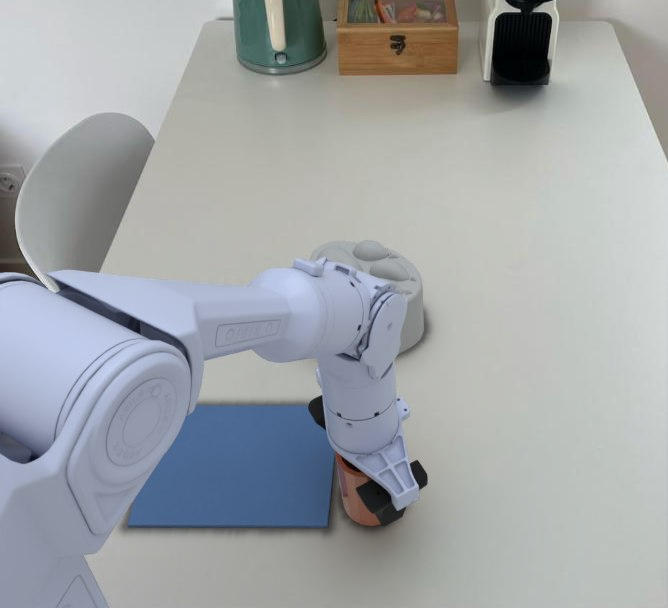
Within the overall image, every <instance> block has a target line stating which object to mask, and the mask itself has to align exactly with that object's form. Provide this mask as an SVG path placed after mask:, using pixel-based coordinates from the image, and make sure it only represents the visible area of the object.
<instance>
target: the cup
mask: <svg viewBox="0 0 668 608" xmlns="http://www.w3.org/2000/svg"><path fill="white" fill-rule="evenodd" d="M335 462H336V469H337V473H338V474H337V475H338V481H339V486H340V493H341V499H342V503H343V504H342V505H343V507H344V511H345V513H346V514H347V515H348V517H349V518H350V519H351V520H352V521H354V522H355V523H358V524H360V525H363V526H368V527H369V526H370V527H373V526H374V527H375V526H380V525H381V524H380V522H379V520H378V519H377V517H376V515H375V514H373V513H371V512H370V511H369V510H368V509H367V508H366V506H365V505H364V503H363V502H362V500H361V498H360V497H359V495H358V493H357V491H356V488H357V487H359V486H360V485H362V484H364V483H366V482H368V481H370V480H372V478H370V477H369V476H368V475H366V474H365V473H364V472H362V471H361V470H360V469H358V468H357V467H356V466H354V465H353V464H352V463H350V462H349V461H348V460H346V459H345V458H344V457H342V456H341V455H340V454H338V453H337V452H336V451H335Z"/></svg>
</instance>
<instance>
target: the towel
mask: <svg viewBox="0 0 668 608" xmlns="http://www.w3.org/2000/svg"><path fill="white" fill-rule="evenodd" d="M308 405H309V404H308ZM308 405H307V404H305V405H304V404H300V405H299V404H295V405H293V404H292V405H290V404H289V405H287V404H285V405H282V404H281V405H279V404H278V405H275V404H273V405H271V404H270V405H268V404H267V405H196V406H195V409H194V411H193V412H192V413H191V414H190V415H188V416H186V417H185V420H184V422H183V425H182V427H181V429H180V431H179V433H178V435H177V437H176V438H175V440H174V442H173V443H172V445H171V446H170V448H169V449H168V450H167V452H166V453H165V454H164V455H163V457H162V458H161V460H160V461H159V463H158V464H157V466H156V467H155V469H154V470H153V472H152V473H151V475H150V476H149V478H148V479H147V481H146V482H145V484H144V485H143V487H142V489H141V490H140V492H139V493H138V495H137V496H136V498H135V499H134V501H133V504H132V507H131V510H130V513H129V517H128V521H127V524H126V525H127V527H128V528H317V529H318V528H320V529H321V528H322V529H323V528H324V529H325V528H328V527H329V519H330V508H331V499H332V487H333V478H334V467H335V460H336V457H335V450H334V449H333V448H332V446H331V444H330V443H329V440H328V436H327V432H326V431H325V430H324V429H323V428H322V427H321V426H319V425H318V424H316V422H315V421H314V419H313V417H312V416H311V414H310V412H309V410H308Z"/></svg>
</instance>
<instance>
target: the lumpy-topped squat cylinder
mask: <svg viewBox="0 0 668 608" xmlns="http://www.w3.org/2000/svg"><path fill="white" fill-rule="evenodd" d="M322 257H327V259H328V260H330V261H332V262H339V263H343V264H346V265H349V266H351V267H354V268H356V269H357V270H359V271H362V272H364V273H367V274H369V275H372V276H375V277H377V278H380V279H382V280H385V281H387V282H390V283H392V284H394V285H395V286H396V287H397V288H396V289H397V290H398V293H399V294H400V295H402V296H403V297H404V300H405V298H406V297H407V298H408V304H407V312H406V316H405V320H404V323H403V326H402V330H401V335H400V341H401V346H400V347H399V353H398V355H400V354H401V353H404V352H405V351H407V350H409V349H411V348H412V347H413V346H415V345H416V344H417V343H419V341H420V340H421V339H422V338H423V335H424V331H425V317H424V316H425V313H424V290H423V289H424V285H423V279H422V276H421V274H420V272H419V270H418V269H417V267H416V266H415V265H414V264H413V263H412V262H411V261H410V260H409V259H407V258H406V257H405V256H404V255H402V254H400V253H399V252H397V251H396V250H393V249H391V248H387V247H385V246H384V245H383V244H381V243H380V242H378V241H376V240H372V239H366V240H361V241H360V242H356V241H346V240H332V241H328V242H326V243H324V244H321V245H320V246H318V247H316V248H315V249H314V250H313V252H312V253H311V256H310V259H309V260H310V261H313V262H316V261H317V260H318V259H320V258H322Z"/></svg>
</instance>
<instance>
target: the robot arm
mask: <svg viewBox="0 0 668 608" xmlns="http://www.w3.org/2000/svg"><path fill="white" fill-rule="evenodd" d="M45 276H47V277H48V278H50V280H51V281H53V282H54V284H55V285H56V287H57V288H58V291H56V292H54V291H52V290H50V289H49V288H48V287H47V285H46V283H43V282H41V281H39V280H38V279H36V278H34V277H33V276H30V275H28V274H26V273H21V272H9V271H8V272H5V271H4V272H0V608H111V607H110V605H109V603H108V601H107V599H106V597H105V595H104V593H103V591H102V589H101V588H100V585H99V583H98V581H97V580H96V577H95V575H94V574H93V571H92V569H91V568H90V565H89V563H88V561H87V560H86V558H85V556H89V555H94V554H97V553H99V552H100V551H101V550H102V549H103V546H104V545H105V543H106V542H107V540H108V539H109V537H110V536H111V535H112V533H113V531H114V530H115V528H116V527H117V526H118V525H119V523H120V522H121V520H122V519H123V517H124V516H125V514H126V513H127V511H128V510H129V508H130V507H131V506H132V505H133V504H132V503H134V500H135V498H136V496H137V495H138V493H139V492H140V490H141V489H142V487H143V485H144V484H145V482H146V481H147V479H148V478H149V476H150V475H151V473H152V472H153V470H154V469H155V467H156V466H157V464H158V463H159V461H160V460H161V458H162V457H163V455H164V454H165V453H166V452H167V450H168V449H169V448H170V446H171V445H172V443H173V442H174V440H175V438H176V437H177V435H178V433H179V431H180V429H181V427H182V425H183V422H184V420H185V417H186V416H188V415H190V414H191V413H192V412H193V411H194V409H195V406H197V403H198V400H199V396H200V393H201V388H202V384H203V379H204V371H205V362H206V361H209V360H213V359H218V358H221V357H225V356H226V357H227V356H230V355H234V354H238V353H243V352H246V351H250V350H252V352H254V353H255V354H256V355H257V356H258V357H260V358H261V359H263V360H265V361H268V362H271V363H276V364H285V363H291V362H292V363H293V362H298V361H304V360H311V359H315V358H316V361H317V362H316V363H317V368H315V369H314V370H315V371H314V372H315V377H316V383H317V385H318V386H319V388H320V389H321V395H318V396H316V397H314V398H312V399H311V400H310V401H309V403H308V410H309V412H310V414H311V416H312V417H313V419H314V421H315V422H316V424H318V425H319V426H321V427H322V428H323V429H324V430H325V431H326V432H327V436H328V440H329V443H330V444H331V446H332V448H333V449H334V450H335V451H336V452H337V453H338V454H340V455H341V456H342V457H344V458H345V459H346V460H348V461H349V462H350V463H352V464H353V465H354V466H356V467H357V468H358V469H360V470H361V471H362V472H364V473H365V474H366V475H368V476H369V477H370V478H372V480H370V481H368V482H366V483H364V484H362V485H360V486H359V487H357V488H356V491H357V493H358V495H359V497H360V498H361V500H362V502H363V503H364V505H365V506H366V508H367V509H368V510H369V511H370V512H371V513H373V514H375V515H376V517H377V519H378V520H379V522H380V525H381V526H382V527H387V526H388V525H390V524H392V523H394V522H395V521H398V520H399V519H401V518H403V517H404V515H405V511H406V510H407V507H409V506H410V505H412V504H414V503H415V502H417V501H419V500H420V491H421V490H422V489H424V488H425V487H427V486H428V483H429V477H428V473H427V471H426V469H425V468H424V467H423V465H422V463H421V462H420V461H419V460H418V459H415V460H414V461H412V462H410V459H409V454H408V449H407V444H406V439H405V433H404V428H403V422H404V421H406V420H408V419H409V418H410V416H411V408H410V406H409V405H408V403H407V402H406V401H405V400H404V398H403V397H402V396H400V395H399V396H398V394H397V379H396V365H395V359H396V358H397V356H398V355H399V354H400V353H399V347H400V346H401V341H400V335H401V330H402V326H403V323H404V320H405V316H406V312H407V304H408V298H407V297H406V298H405V300H404V297H403V296H402V295H400V294H399V293H398V290H397V289H396V288H397V287H396V286H395V285H394V284H392V283H390V282H387V281H385V280H382V279H380V278H377V277H375V276H372V275H369V274H367V273H364V272H362V271H359V270H357V269H356V268H354V267H351V266H349V265H346V264H343V263H339V262H332V261H330V260H328V259H327V257H322V258H320V259H318V260H317V261H316V262H313V261H310V259H308V258H301V257H296V258H294V261H293V263H292V267H279V266H278V267H272V268H269V269H266V270H264V271H261V272H260V273H259V274H257V275H256V276H255V277H254V278H253V279H251V281H250V282H249V283H248V284H247V285H237V284H225V283H215V282H213V283H212V282H211V283H210V282H198V281H189V280H176V279H175V280H174V279H161V278H149V277H139V276H138V277H137V276H128V275H120V274H110V273H104V272H103V273H102V272H95V271H94V272H92V271H87V270H85V271H84V270H76V269H62V270H55V271H49V272H46V273H45ZM398 353H399V354H398Z"/></svg>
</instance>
